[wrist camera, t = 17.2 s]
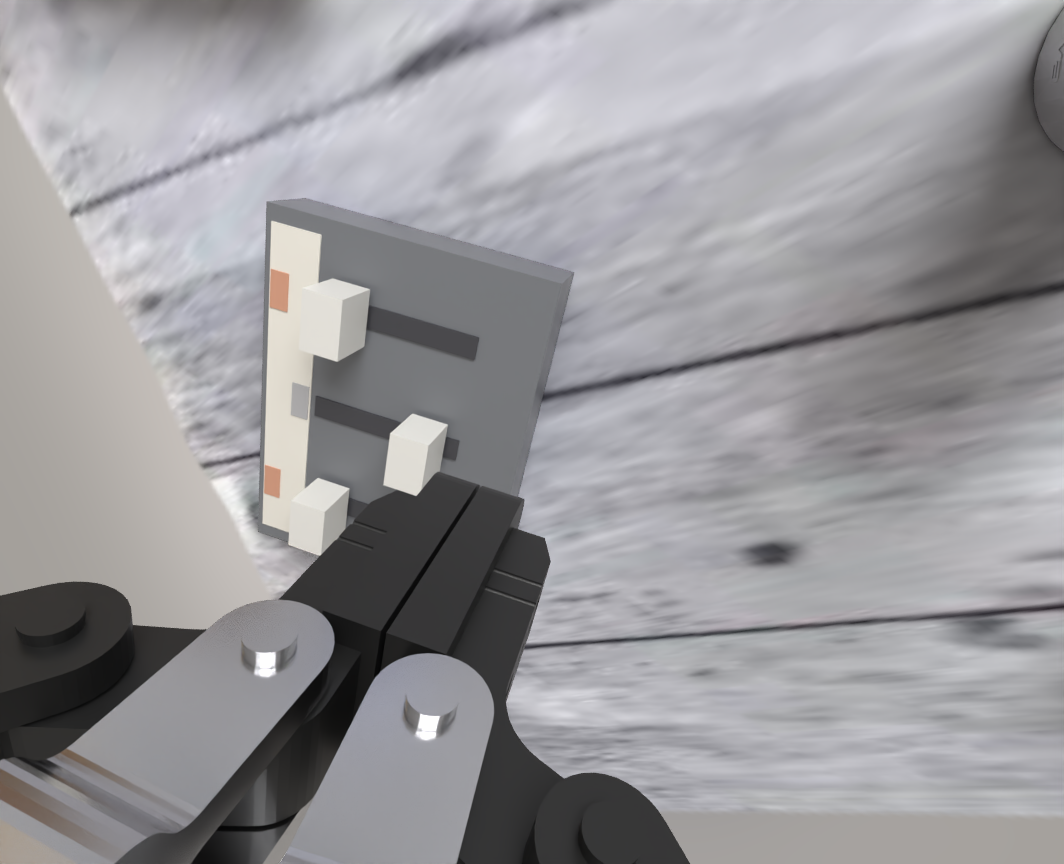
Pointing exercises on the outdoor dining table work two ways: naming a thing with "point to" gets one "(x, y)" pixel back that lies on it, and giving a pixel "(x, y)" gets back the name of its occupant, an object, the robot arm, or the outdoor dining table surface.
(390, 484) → the switch tab
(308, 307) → the switch tab
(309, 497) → the switch tab
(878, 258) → the outdoor dining table surface
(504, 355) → the panel
